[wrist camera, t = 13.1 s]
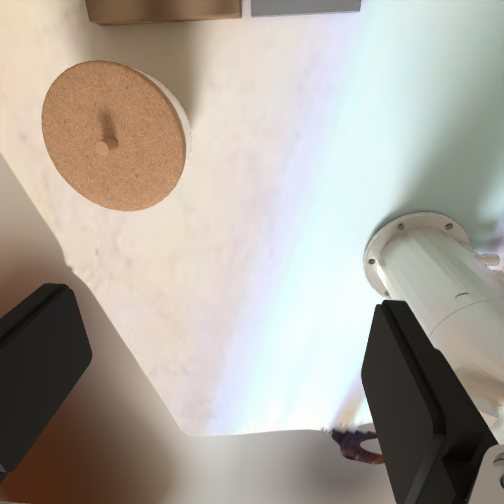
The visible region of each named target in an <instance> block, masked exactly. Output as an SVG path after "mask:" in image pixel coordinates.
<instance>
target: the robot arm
mask: <svg viewBox="0 0 504 504" xmlns="http://www.w3.org/2000/svg"><path fill="white" fill-rule="evenodd" d="M399 224H400V225H399ZM369 259H370V260H369ZM499 262H500V258H499V256H498V255H497V254H478V253H477V252H476V251H474V250H473V249H472V248H471V247H470V241H469V239H468V236H467V234H466V232H465V231H464V229H463V228H462V227H461V226H460V225H459V224H457V223H456V222H455V221H453V220H452V219H450V218H449V217H447V216H444V215H442V214H438V213H433V212H417V213H411V214H407V215H404V216H401V217H398V218H397V219H395V220H393V221H391V222H389V223H388V224H386V225H385V226H384V227H382V228H381V229H380V230H379V231H378V232H377V233H376V234H375V235H374V236H373V238H372V239H371V241H370V242H369V244H368V246H367V248H366V251H365V254H364V259H363V268H364V272H365V276H366V278H367V280H368V282H369V284H370V285H371V286H372V288H373V289H374V290H375V291H376V292H377V293H379V294H380V295H382V296H383V297H385V298H388V299H391V300H384V301H383V302H382V304H377V305H376V307H375V311H374V316H373V320H372V325H371V329H370V334H369V338H368V343H367V347H366V352H365V356H364V361H363V365H362V370H361V378H362V384H363V387H364V391H365V394H366V398H367V401H368V405H369V409H370V412H371V416H372V419H373V423H374V426H375V430H376V433H377V437H378V440H379V444H380V448H381V451H382V455H383V458H384V462H385V465H386V469H387V472H388V476H389V479H390V483H391V486H392V490H393V493H394V497H395V500H396V503H397V504H504V273H503V272H502V271H500V270H490V269H489V268H488V267H487V266H496V265H498V264H499ZM91 359H92V351H91V347H90V344H89V341H88V337H87V334H86V331H85V328H84V324H83V321H82V318H81V314H80V311H79V308H78V305H77V301H76V298H75V295H74V292H73V290H72V289H69V287H68V286H67V285H65V284H54V283H46V284H43V285H42V286H41V287H39V288H38V289H37V290H36V291H34V292H33V293H32V294H31V295H29V296H28V297H27V298H26V299H24V300H23V301H22V302H21V303H19V304H18V305H17V306H16V307H15V308H13V309H12V310H11V311H9V312H8V313H7V314H6V315H5V316H3V317H2V318H1V319H0V484H1V483H2V481H3V480H4V478H5V477H6V476H7V474H8V473H9V472H11V471H13V470H14V469H15V468H16V467H17V466H18V465H19V464H20V462H21V461H22V459H23V458H24V457H25V455H26V454H27V452H28V451H29V449H30V448H31V446H32V445H33V444H34V442H35V441H36V439H37V438H38V437H39V435H40V434H41V432H42V431H43V429H44V428H45V427H46V425H47V424H48V422H49V421H50V420H51V418H52V417H53V415H54V414H55V412H56V411H57V410H58V408H59V407H60V405H61V404H62V402H63V401H64V400H65V398H66V397H67V395H68V394H69V393H70V391H71V390H72V388H73V387H74V385H75V384H76V383H77V381H78V380H79V378H80V377H81V376H82V374H83V373H84V371H85V370H86V368H87V367H88V365H89V364H90V362H91ZM478 410H479V411H481V412H483V413H486V414H488V415H491V416H494V417H496V418H498V419H497V421H496V422H495V423H494V424H493V425H492V426H491V427H488V425H487V424H486V422H485V421H484V419H483V417H482V416H481V414H480V413H479V411H478ZM0 504H25V503H13V502H4V501H0Z"/></svg>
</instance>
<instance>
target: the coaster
mask: <svg viewBox="0 0 504 504" xmlns="http://www.w3.org/2000/svg"><path fill="white" fill-rule="evenodd" d="M360 7H361V0H251V14H252V18H254V17H273V16H292V15H311V14H330V13H349V12H359V11H360Z"/></svg>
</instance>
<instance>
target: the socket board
mask: <svg viewBox="0 0 504 504" xmlns="http://www.w3.org/2000/svg"><path fill="white" fill-rule="evenodd" d="M85 1H86V6H87V11H88V15H89V20H90V21H91V22H93V23H96V24H99V25H120V24H139V23H158V22H177V21H196V20H215V19H235V18H242V16H241V0H85Z"/></svg>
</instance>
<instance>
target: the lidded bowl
mask: <svg viewBox="0 0 504 504" xmlns="http://www.w3.org/2000/svg"><path fill="white" fill-rule="evenodd" d="M42 132H43V137H44V141H45V145H46V148H47V151H48V153H49V156H50V158H51V160H52V162H53V164H54V165H55V167H56V168H57V170H58V172H59V173H60V174H61V176H62V177H63V178H64V179H65V180H66V182H67V183H68V184H69V185H70V186H71V187H72V188H73V189H74V190H76V191H77V192H78V193H80V194H81V195H82V196H83V197H85V198H87V199H88V200H90V201H92V202H93V203H95V204H98V205H100V206H102V207H105V208H109V209H112V210H118V211H138V210H143V209H146V208H149V207H152V206H154V205H155V204H157V203H159V202H161V201H162V200H163V199H164V198H165V197H167V196H168V195H169V194H170V192H171V191H172V190H173V189H174V188H175V186H176V185H177V183H178V182H179V180H180V179H181V178H182V176H183V174H184V172H185V171H186V168H187V166H188V163H189V160H190V156H191V151H192V135H191V128H190V124H189V120H188V118H187V115H186V113H185V111H184V109H183V107H182V106H181V104H180V102H179V101H178V100H177V98H176V97H175V96H174V95H173V93H172V92H171V91H170V90H169V89H168V88H167V87H165V86H164V85H163V84H162V83H161V82H159V81H158V80H156V79H155V78H153V77H151V76H150V75H148V74H146V73H144V72H142V71H139V70H136V69H133V68H130V67H128V66H125V65H121V64H118V63H114V62H107V61H88V62H84V63H80V64H77V65H75V66H72V67H70V68H68V69H67V70H65V71H64V72H63V73H62V74H60V75H59V76H58V77H57V78H56V80H55V81H54V82H53V83H52V85H51V87H50V88H49V90H48V92H47V94H46V97H45V100H44V104H43V110H42Z"/></svg>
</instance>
